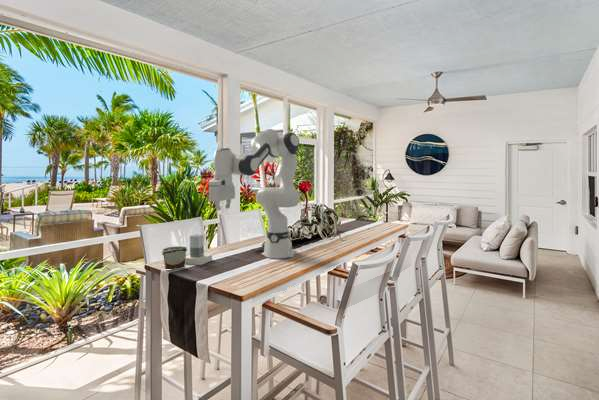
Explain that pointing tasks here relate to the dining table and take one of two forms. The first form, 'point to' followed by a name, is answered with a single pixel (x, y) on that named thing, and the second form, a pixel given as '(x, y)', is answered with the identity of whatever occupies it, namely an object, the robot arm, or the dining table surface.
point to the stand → (198, 259)
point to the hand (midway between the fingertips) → (223, 209)
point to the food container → (174, 257)
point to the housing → (196, 245)
